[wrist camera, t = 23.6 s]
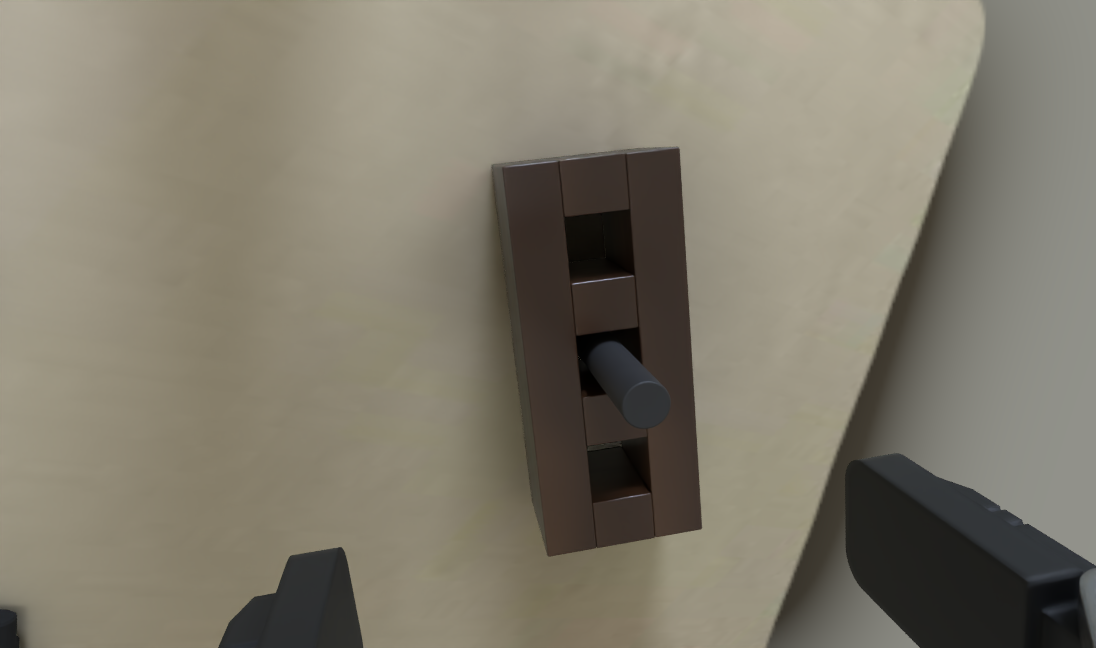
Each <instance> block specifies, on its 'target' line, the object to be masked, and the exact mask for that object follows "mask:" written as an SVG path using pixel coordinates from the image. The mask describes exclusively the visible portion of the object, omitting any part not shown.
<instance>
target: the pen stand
mask: <svg viewBox="0 0 1096 648" xmlns="http://www.w3.org/2000/svg"><path fill="white" fill-rule="evenodd" d="M492 174H493V182H494V191H495V199H496V207H497V215H498V224H499V232H500V240H501V249H502V257H503V265H504V273H505V282H506V290H507V298H508V307H509V315H510V323H511V331H512V340H513V348H514V356H515V365H516V373H517V381H518V389H519V398H520V406H521V414H522V422H523V431H524V439H525V447H526V456H527V464H528V472H529V480H530V489H531V497H532V503H533V506H534V510H535V513H536V517H537V521H538V524H539V528H540V531H541V535H542V538H543V542H544V545H545V549H546V552H547V555H548V556H555V555H561V554H566V553H572V552H577V551H583V550H588V549H594V548H596V547H597V548H600V547H606V546H612V545H617V544H623V543H628V542H634V541H639V540H645V539H651V538H654V537H660V536H666V535H672V534H677V533H683V532H688V531H694V530H700V529H702V520H701V503H700V486H699V469H698V452H697V436H696V419H695V402H694V385H693V368H692V351H691V334H690V317H689V301H688V284H687V267H686V250H685V233H684V216H683V199H682V182H681V166H680V149H679V147H655V148H636V149H627V150H618V151H609V152H600V153H591V154H582V155H573V156H564V157H555V158H546V159H537V160H528V161H519V162H510V163H501V164H493V165H492ZM596 213H602V220H603V232H604V244H605V255H606V258H598V259H591V260H583V261H575V262H568V252H567V242H566V232H565V222H564V217H571V216H580V215H588V214H596ZM608 331H612V335H613V336H614V337H615V338H616V339H617V340H618V341H619V342H620V343H621V344H622V345H623V346H624V347H625V348H626V349H627V350H628V351H629V352H630V353H631V354H632V355H633V356H634V357H635V358H636V359H637V360H638V361H639V362H640V363H641V364H642V365H643V366H644V367H645V368H646V369H647V370H648V371H649V372H650V373H651V374H652V375H653V376H654V377H655V378H656V379H657V380H658V381H659V382H660V383H661V384H662V385H663V386H664V387H665V388H666V390H667V391H668V393H669V395H670V400H671V405H670V410H669V413H668V415H667V417H666V418H665V419H664V421H663V422H661V423H660V424H659V425H657V426H655V427H653V428H649V429H639V428H635V427H633V426H631V425H630V424H629V423H628V422H627V421H626V420H625V419H624V417H623V416H622V415H621V413H620V412H619V410H618V409H617V408H616V406H615V405H614V403H613V402H612V401H611V399H610V398H609V397H608V395H607V394H606V392H605V391H604V390H603V388H602V387H601V386H600V384H599V383H598V381H597V380H596V379H595V377H594V376H593V374H592V373H591V372H590V370H589V369H588V368H587V366H586V365H585V363H584V362H583V361H582V360H578V353H577V343H576V336H580V335H587V334H594V333H601V332H608ZM616 441H622V447H618V448H611V449H605V450H599V451H593V452H587V446H591V445H598V444H604V443H610V442H616Z"/></svg>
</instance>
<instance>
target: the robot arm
mask: <svg viewBox="0 0 1096 648" xmlns="http://www.w3.org/2000/svg"><path fill="white" fill-rule="evenodd" d="M845 504H846V506H845V507H846V508H845V509H846V553H847V559H848V563H849V566H850V569H851V571H852V574H853V576H854V578H855V580H856V581H857V583H858V584H859V586H860V587H861V588H862V589H863V590H864V591H865V592H866V593H867V594H868V595H869V596H870V597H871V599H873V601H874V602H875V603H876V604H877V605H879V606H880V608H881V609H883V611H884V612H885V613H886V614H887V615H888V616H889V617H890V618H891V619H892V620H893V621H894V622H895V623H896V624H897V625H898V626H899V627H900V628H901V629H902V630H903V631H904V632H905V633H906V634H907V635H908V636H909V637H910V638H911V639H912V640H913V641H914V642H915V643H916V644H917V645H918V646H919V647H920V648H1096V566H1095V565H1094V564H1092V563H1090V562H1089V561H1087V560H1085V559H1084V558H1082V557H1081V556H1079V555H1077V554H1076V553H1074V552H1073V551H1071V550H1069V549H1068V548H1066V547H1065V546H1063V545H1061V544H1060V543H1058V542H1057V541H1055V540H1053V539H1052V538H1050V537H1048V536H1047V535H1045V534H1043V533H1042V532H1040V531H1039V530H1037V529H1036V528H1034V527H1032V526H1031V525H1029V524H1025V525H1024V524H1023V522H1022V520H1021V519H1019V518H1018V517H1016V516H1015V515H1013V514H1011V513H1010V512H1008V511H1007V510H1001V509H1000V506H999V505H997V504H995V503H994V502H992V501H991V500H989V499H987V498H986V497H984V496H982V495H981V494H979V493H978V492H976V491H974V490H973V489H970V488H967V487H964V486H961V485H959V484H956V483H953V482H950V481H947V480H944V479H941V478H939V477H936V476H935V475H933V474H932V473H930V472H929V471H927V470H925V469H924V468H922V467H921V466H919V465H918V464H916V463H915V462H913V461H911V460H910V459H908V458H907V457H905V456H903V455H901V454H898V453H895V454H888V455H883V456H877V457H871V458H865V459H860V460H854V461H851V462H850V463H849V465H848V467H847V469H846V475H845ZM218 648H363V642H362V636H361V630H360V625H359V620H358V615H357V610H356V604H355V599H354V594H353V589H352V584H351V578H350V573H349V568H348V563H347V559H346V555H345V552H344V550H343V548H342V547H339V548H333V549H327V550H321V551H315V552H309V553H304V554H298V555H292V556H290V557H289V559H288V561H287V564H286V566H285V569H284V572H283V575H282V578H281V580H280V583H279V586H278V589H277V591H276V593H274V594H268V595H262V596H257V597H254V598H253V599H252V600H251V601H250V602H249V603H248V604H247V605H246V606H245V607H244V608H243V609H242V610H241V611H240V612H239V613H238V614H237V615H236V616H235V617H234V618H233V619H232V620H231V621H230V622H229V624H228V626H227V629H226V631H225V633H224V636H223V638H222V640H221V642H220V645H219V647H218Z"/></svg>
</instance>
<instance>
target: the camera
mask: <svg viewBox="0 0 1096 648" xmlns="http://www.w3.org/2000/svg"><path fill="white" fill-rule="evenodd" d="M16 630H17V615H16V613H15V612H13V611H10V610H3V609H0V648H19V637H18V636H17V635H16Z"/></svg>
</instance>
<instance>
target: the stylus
mask: <svg viewBox="0 0 1096 648" xmlns="http://www.w3.org/2000/svg"><path fill="white" fill-rule="evenodd" d="M576 343H577V353H578V355H579V356H580V358H581V359H582V361H583V362H584V363H585V365H586V366H587V368H588V369H589V370H590V372H591V373H592V374H593V376H594V377H595V379H596V380H597V381H598V383H599V384H600V386H601V387H602V388H603V390H604V391H605V392H606V394H607V395H608V397H609V398H610V399H611V401H612V402H613V403H614V405H615V406H616V408H617V409H618V410H619V412H620V413H621V415H622V416H623V417H624V419H625V420H626V421H627V422H628V423H629V424H630V425H631V426H633V427H635V428H639V429H649V428H653V427H655V426H657V425H659V424H660V423H661V422H663V421H664V419H665V418H666V417H667V415H668V413H669V410H670V405H671V400H670V395H669V393H668V391H667V390H666V388H665V387H664V386H663V385H662V384H661V383H660V382H659V381H658V380H657V379H656V378H655V377H654V376H653V375H652V374H651V373H650V372H649V371H648V370H647V369H646V368H645V367H644V366H643V365H642V364H641V363H640V362H639V361H638V360H637V359H636V358H635V357H634V356H633V355H632V354H631V353H630V352H629V351H628V350H627V349H626V348H625V347H624V346H623V345H622V344H621V343H620V342H619V341H618V340H617V339H616V338H615V337H614V336H613V335H612V334H611V333H610V332H609V331H608V332H601V333H594V334H587V335H580V336H576Z"/></svg>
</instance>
